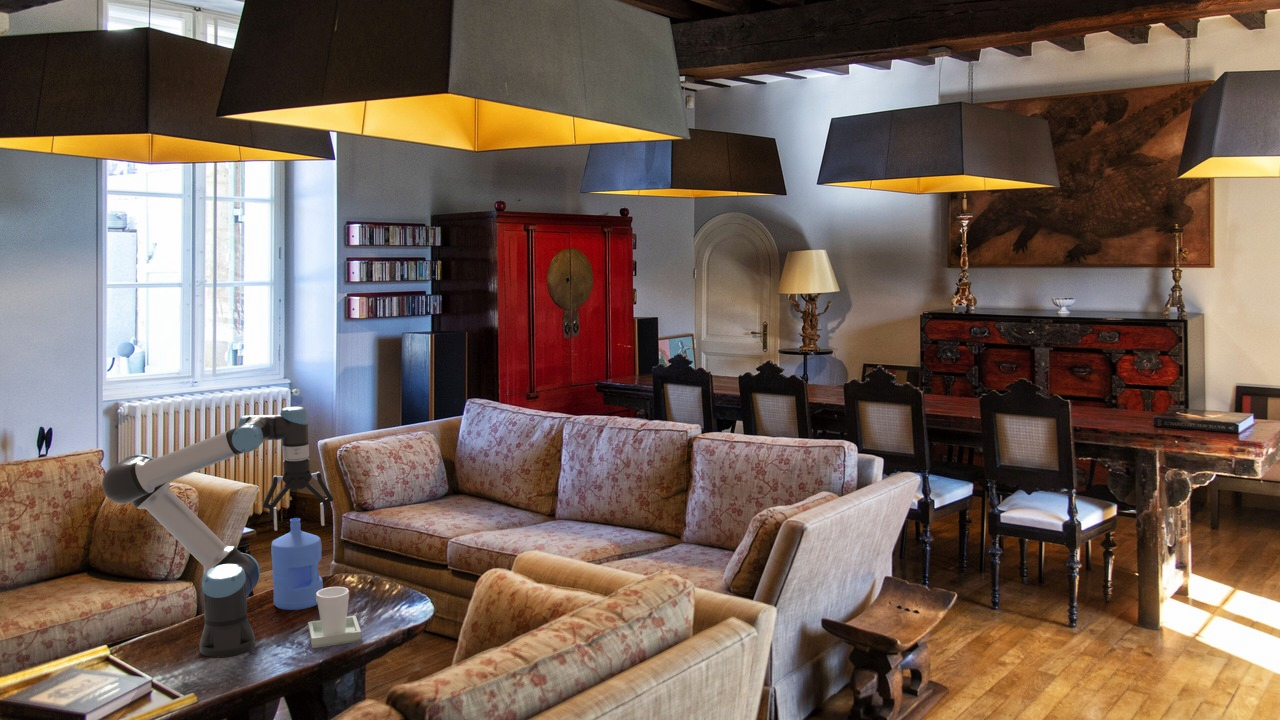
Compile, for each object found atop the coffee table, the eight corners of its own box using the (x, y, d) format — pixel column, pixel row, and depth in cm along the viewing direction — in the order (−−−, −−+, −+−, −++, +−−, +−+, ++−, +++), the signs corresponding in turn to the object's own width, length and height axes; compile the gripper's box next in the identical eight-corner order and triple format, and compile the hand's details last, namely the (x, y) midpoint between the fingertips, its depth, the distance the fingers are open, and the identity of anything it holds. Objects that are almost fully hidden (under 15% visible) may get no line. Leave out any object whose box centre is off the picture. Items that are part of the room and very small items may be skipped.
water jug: (263, 607, 343) (258, 523, 340) (296, 591, 358) (292, 510, 354) (301, 613, 337) (297, 528, 334) (334, 597, 352) (330, 515, 348)
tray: (312, 648, 310) (311, 638, 310) (308, 631, 323) (308, 621, 323) (361, 641, 315) (361, 631, 315) (355, 624, 328) (355, 615, 328)
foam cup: (344, 639, 314) (343, 597, 313) (313, 639, 314) (311, 597, 313) (354, 627, 324) (352, 586, 322) (324, 627, 324) (322, 586, 322)
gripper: (252, 464, 311) (256, 534, 314) (340, 457, 320) (343, 525, 323) (251, 459, 318) (255, 528, 321) (337, 452, 327) (340, 519, 330)
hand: (299, 527), depth 322 cm, fingers open, 13 cm apart
